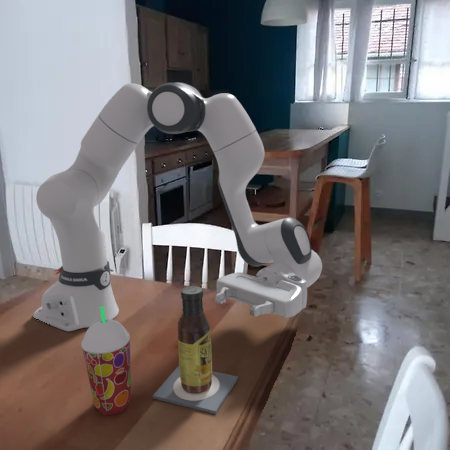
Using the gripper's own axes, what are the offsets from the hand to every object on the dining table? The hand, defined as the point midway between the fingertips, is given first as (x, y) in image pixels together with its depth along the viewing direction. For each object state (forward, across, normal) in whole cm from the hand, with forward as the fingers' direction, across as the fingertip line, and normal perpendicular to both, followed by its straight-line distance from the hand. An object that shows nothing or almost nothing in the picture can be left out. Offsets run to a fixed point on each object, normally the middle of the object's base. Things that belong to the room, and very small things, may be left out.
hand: (234, 306), depth 91 cm
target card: (+12, 0, +13) cm, 18 cm away
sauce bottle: (+12, 0, +12) cm, 17 cm away
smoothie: (+25, -8, +13) cm, 30 cm away
